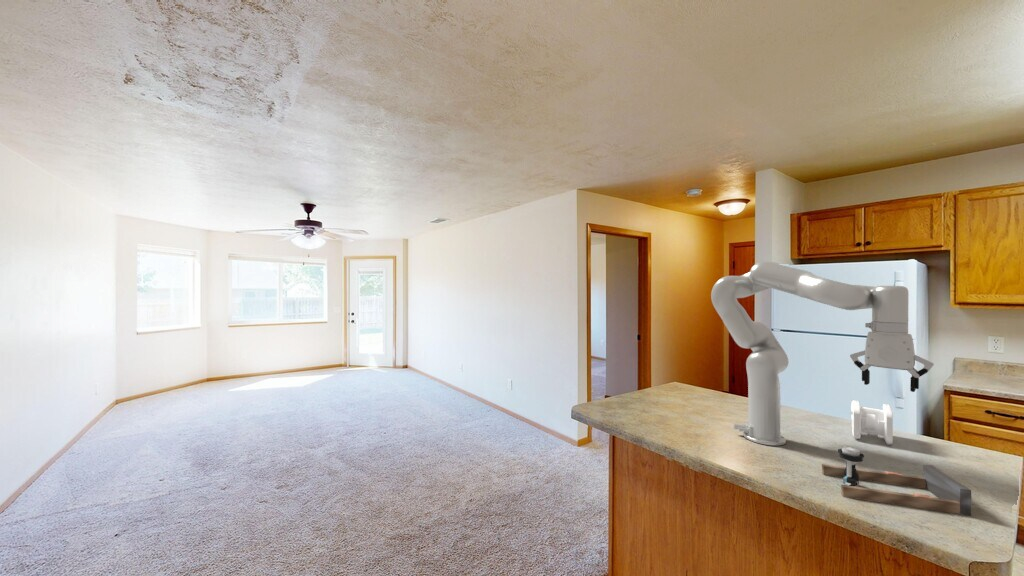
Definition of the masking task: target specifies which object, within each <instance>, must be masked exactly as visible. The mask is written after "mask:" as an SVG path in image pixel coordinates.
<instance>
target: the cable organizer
mask: <svg viewBox="0 0 1024 576" xmlns="http://www.w3.org/2000/svg"><path fill="white" fill-rule="evenodd" d="M850 416H851V431H852V432H851V433H852V437H853V439H856V440H861V435H863V436H868V435H872V436H876V437H877V438H878V439H884V442H885V444H886V445H887V446H890V445H893V442H894V441H893V439H894V437H893V436H894V433H893V431H894V425H893V424H894V423H893V422H894V419H893V418H894V416H893V412H892V409H891V406H890V404H888V403H887V404H885V403H883V404H882V409H879V408H872V407H864V406H861V404H860V401H858V400H854V399H853V400H852V401H851V402H850Z"/></svg>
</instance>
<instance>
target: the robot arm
mask: <svg viewBox="0 0 1024 576" xmlns="http://www.w3.org/2000/svg"><path fill="white" fill-rule="evenodd" d="M768 289H773V290H777V291H781V292H784V293H788V294H791V295H794V296H796V297H797V296H798V297H800V298H803V299H807V300H810V301H813V302H816V303H821V304H823V305H827V306H831V307H834V308H837V309H841V310H846V311H857V310H867V309H870V310H871V321H870V322H865V328H867V329H871V331H868V332H867V335H866V339H865V340H866V341H865V348H864V350H862V351H857V352H855V353H851V354H850V355H849V357H850V359H851V360H852V362H853V364H854V365H855V366H856V367H857V368H859V370H860V371H861V381H862V382H863V383H864V385H866V386H868V385H869V384H870V380H871V379H870V375H871V373H870V369H869V368H870V367H874V368H875V367H876V368H883V369H893V370H899V371H907V372H908V373H910V374H911V376H910V385H909V386H910V392H912V393H915V391H916V389H917V390H919V389H920V377H922V376H923V375H925V374H928V372H929V371H930V370H931V368H932V367H934V363H933V361H930V360H927V359H925V358H923V357H921V356H920V355H919V356H918V355H916V353H915V345H914V344H915V343H914V340H913V336H912V334H911V333H909V296H910V295H909V290H908V288H907V287H906V286H903V285H877V286H871V285H870V286H869V285H860V284H849V283H845V282H840V281H837V280H832V279H829V278H825V277H821V276H818V275H816V274H814V273H812V272H810V271H808V270H804V269H800V268H794V267H790V266H786V265H783V264H780V263H777V262H774V261H759V262H756V263H755V264H754V265H752V266H751V268H750V270H749V272H747V273H744V274H741V275H725V276H723V277H721V278H720V279H718V280H717V281H716V282H715V283H714V285H713V286H712V289H711V293H710V297H711V298H710V299H711V303H712V305H713V308H714V309H715V312H717V314H718V315H719V317H720V318H721V320H722V323H723V324H724V326H725V328H726V329H727V331H728V332H729V334H730V336H731V338H732V340H733V341H734V342H735V344H736V345H737V346H739V347H740V348H741V349H750V350H751V351H752V352H750V354H749V355H748V357H747V358H746V361H745V368H746V374H747V387H748V388H747V389H748V390H747V391H748V392H747V393H748V394H747V398H748V401H747V403H748V405H747V406H748V407H747V408H748V409H747V410H748V411H747V414H748V415H747V418H748V419H747V421H746V422H745V423H743V424H739V423H733V428H732V429H733V430H738V432H742V433H743V434H742V435H743V437H744V438H745V439H747V440H749V441H750V442H754V443H757V444H760V445H766V446H772V447H773V446H777V447H778V446H783V445H785V444H786V442H787V440H786V438H785V437H784V436H783V435H781V384H780V378H779V374H781V373H782V372H783V371H785V370H787V368H788V367H789V358H788V355H787V353H786V352H785V350H784V348H783V347H782V346H781V344H780V342H779V341H778V340H777V338H776V336H775V335H774V333H773V331H771V329H770V328H769V327H768V326H767V325H766V324H764V323H763V322H760V321H755V320H754V321H753V320H752V318H751V317H750V316H749V314H748V313H747V310H746V309H745V308H744V307H743V305H742V304H740V302H739V301H738V299H744V298H747V297H750V296H753V295H755V294H758V293H760V292H761V293H762V292H763V291H765V290H768ZM863 356H864V363H862V362H861V361H860V360H859V357H863ZM916 362H918V363H919V364H922V365H924V366H923V367H922V368H920V369H919V370H917V369H916V368H915V364H916Z"/></svg>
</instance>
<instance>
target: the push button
mask: <svg viewBox="0 0 1024 576" xmlns="http://www.w3.org/2000/svg"><path fill="white" fill-rule="evenodd" d="M837 452H838V453H839V457H840V458H841V459H842V460H843V461H845V467H846V468H845V470H843V475H844V477H842V485H848V486H855V487H860V486H859V485H860V480H859V476H858V473H856V469H857V468H856V464H859V463H862V462H863V461H864V460H863V459H864V458H865V454H864V453H862V452H860V449H858V448H855V447H853V446H852V447H851V446H845V445H844V446H842V448H838V449H837Z"/></svg>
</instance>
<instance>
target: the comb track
mask: <svg viewBox="0 0 1024 576" xmlns="http://www.w3.org/2000/svg"><path fill="white" fill-rule="evenodd" d="M845 468H846V466H838V465H831V464H821V473H822V475H824V476H829V477H830V476H831V477H836V478H837V477H838V478H844V475H843V470H845ZM856 473H858V476H859V481H867V482H876V483H881V484H888V485H889V484H890V485H896V486H904V487H910V488H919V489H926V490H927V491H928V492H930V493H931V494H932V495H933V496H934V497H932V496H930V495H927V494H920V493H912V494H910V493H905V492H898V491H890V490H889V491H888V490H882V489H874V488H869V487H861V486H858V487H857V486H848V485H844V484H841V485H840V488H841V489H840V493H841V496H842V497H844V498H849V499H850V498H852V499H858V500H864V501H871V502H876V503H877V502H879V503H884V504H892V505H898V506H905V507H912V508H918V509H925V510H931V511H938V512H946V513H952V514H958V515H959V514H960V515H965V516H972V489H971V488H968V487H967V486H966V485H964V484H962V483H961V482H959V481H958V480H956V479H955V478H953V477H952V476H950V475H949V474H947V473H945V472H944V471H942V470H941V469H939V468H937V467H936V466H934V465H933V464H926V463H925V464H924V463H923V464H922V476H917V475H909V474H908V475H907V474H901V473H900V472H895V471H886V470H885V472H884V471H878V470H876V471H875V470H870V469H869V470H868V469H861V468H856Z"/></svg>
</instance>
